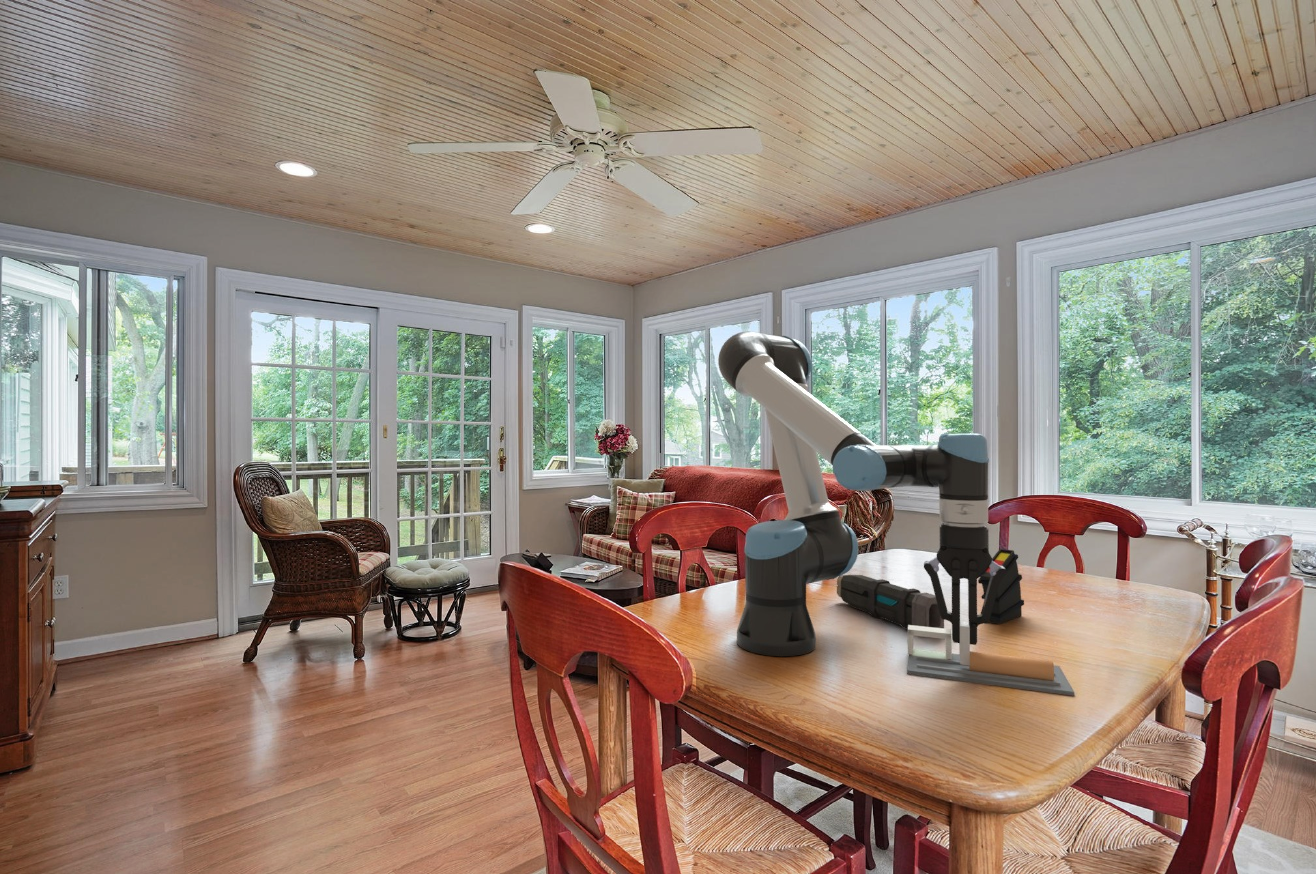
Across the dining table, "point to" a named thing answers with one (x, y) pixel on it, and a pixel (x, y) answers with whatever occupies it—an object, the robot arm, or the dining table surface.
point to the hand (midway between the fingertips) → (964, 662)
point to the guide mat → (980, 673)
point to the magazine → (1005, 588)
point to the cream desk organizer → (929, 633)
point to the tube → (890, 601)
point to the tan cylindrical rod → (1012, 666)
